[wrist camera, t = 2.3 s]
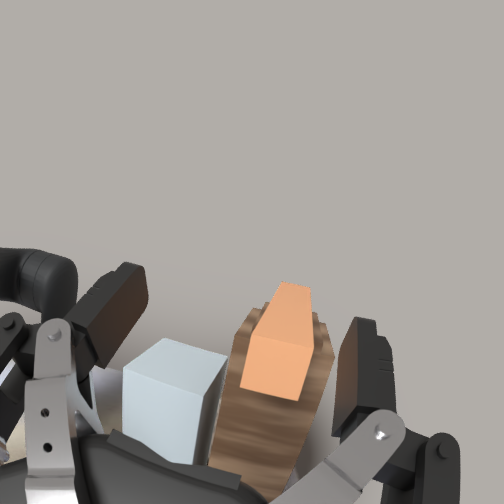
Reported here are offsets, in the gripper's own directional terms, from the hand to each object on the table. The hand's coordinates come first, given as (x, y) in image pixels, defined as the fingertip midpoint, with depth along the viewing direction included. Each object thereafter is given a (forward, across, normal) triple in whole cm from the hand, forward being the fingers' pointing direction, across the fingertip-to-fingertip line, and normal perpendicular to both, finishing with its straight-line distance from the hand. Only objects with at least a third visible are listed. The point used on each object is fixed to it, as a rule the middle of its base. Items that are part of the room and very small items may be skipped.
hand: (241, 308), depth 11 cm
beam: (+13, -2, +16) cm, 21 cm away
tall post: (+1, -2, +46) cm, 46 cm away
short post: (+1, +10, +46) cm, 47 cm away
